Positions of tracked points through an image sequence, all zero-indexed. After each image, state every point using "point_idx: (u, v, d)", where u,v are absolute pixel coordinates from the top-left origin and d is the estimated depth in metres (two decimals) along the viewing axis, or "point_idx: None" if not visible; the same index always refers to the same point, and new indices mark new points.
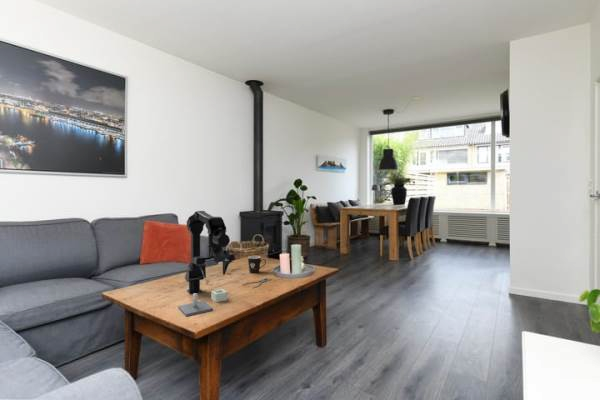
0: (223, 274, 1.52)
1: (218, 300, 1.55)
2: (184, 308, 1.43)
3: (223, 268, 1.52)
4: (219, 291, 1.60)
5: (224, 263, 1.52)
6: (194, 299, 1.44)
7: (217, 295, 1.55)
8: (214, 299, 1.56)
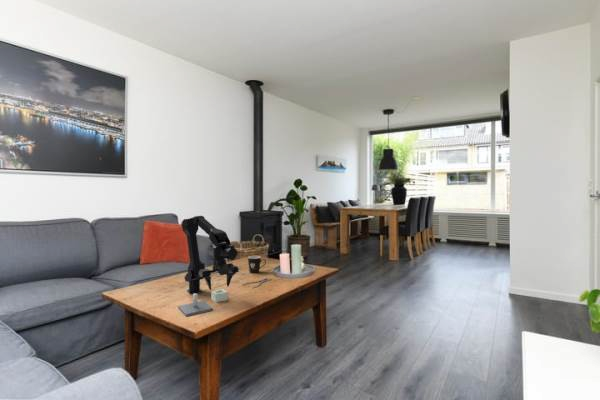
0: (227, 285, 1.61)
1: (218, 300, 1.55)
2: (184, 308, 1.43)
3: (227, 280, 1.61)
4: (219, 291, 1.60)
5: (228, 275, 1.61)
6: (194, 299, 1.44)
7: (217, 295, 1.55)
8: (214, 299, 1.56)
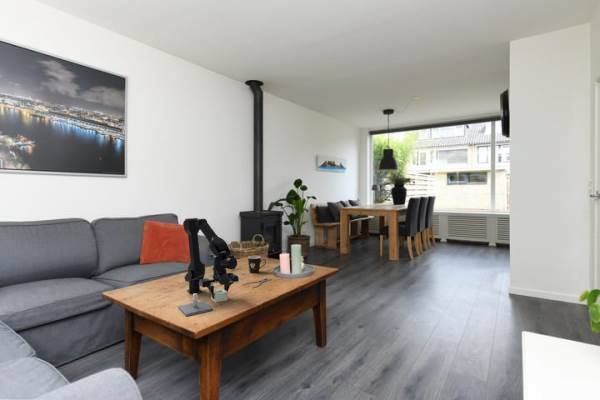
0: None
1: (218, 300, 1.55)
2: (184, 308, 1.43)
3: (225, 289, 1.61)
4: (219, 291, 1.60)
5: (225, 285, 1.60)
6: (194, 299, 1.44)
7: (217, 295, 1.55)
8: (214, 299, 1.56)
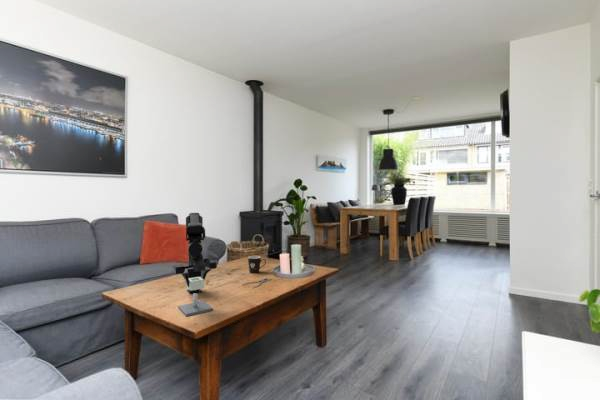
0: None
1: (193, 288, 1.42)
2: (184, 308, 1.43)
3: (201, 277, 1.47)
4: (195, 279, 1.47)
5: (202, 272, 1.47)
6: (194, 299, 1.44)
7: (192, 283, 1.41)
8: (189, 287, 1.42)
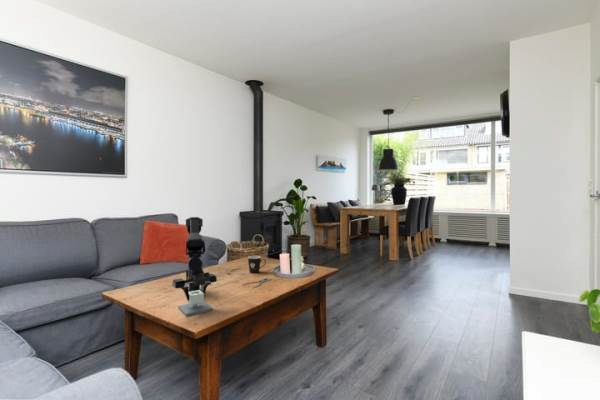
0: None
1: (193, 302, 1.42)
2: (184, 308, 1.43)
3: None
4: (195, 292, 1.47)
5: (202, 285, 1.47)
6: None
7: (192, 297, 1.41)
8: (189, 301, 1.42)
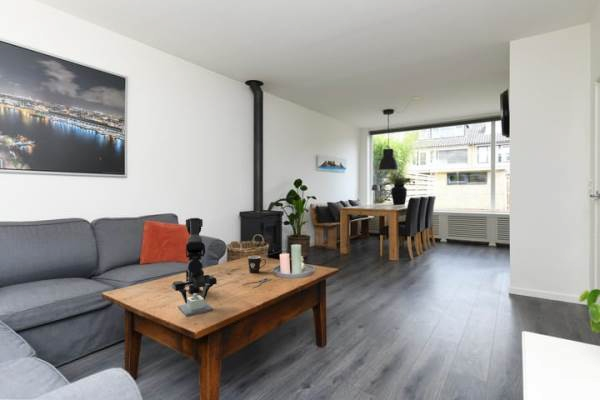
0: None
1: (193, 308, 1.42)
2: (184, 308, 1.43)
3: (203, 292, 1.48)
4: None
5: (204, 287, 1.48)
6: (194, 299, 1.44)
7: (192, 302, 1.41)
8: (189, 307, 1.42)
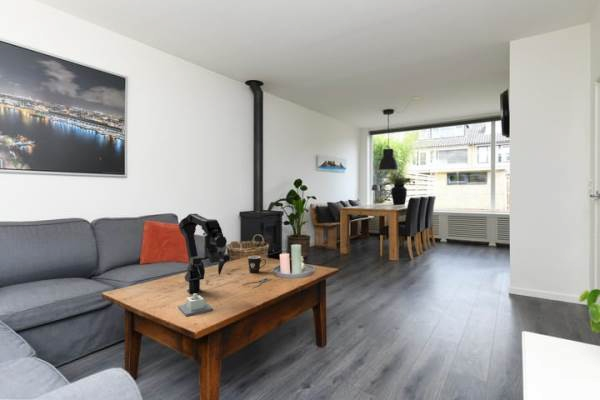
0: None
1: (193, 308, 1.42)
2: (184, 308, 1.43)
3: (219, 268, 1.62)
4: None
5: (220, 263, 1.62)
6: (194, 299, 1.44)
7: (192, 302, 1.41)
8: (189, 307, 1.42)
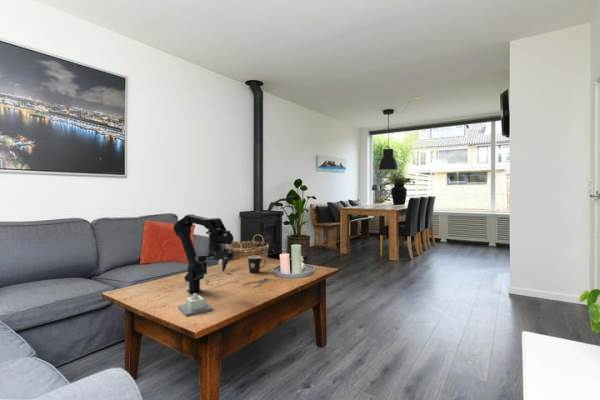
0: (223, 271, 1.65)
1: (193, 308, 1.42)
2: (184, 308, 1.43)
3: (223, 265, 1.66)
4: None
5: (223, 261, 1.66)
6: (194, 299, 1.44)
7: (192, 302, 1.41)
8: (189, 307, 1.42)
